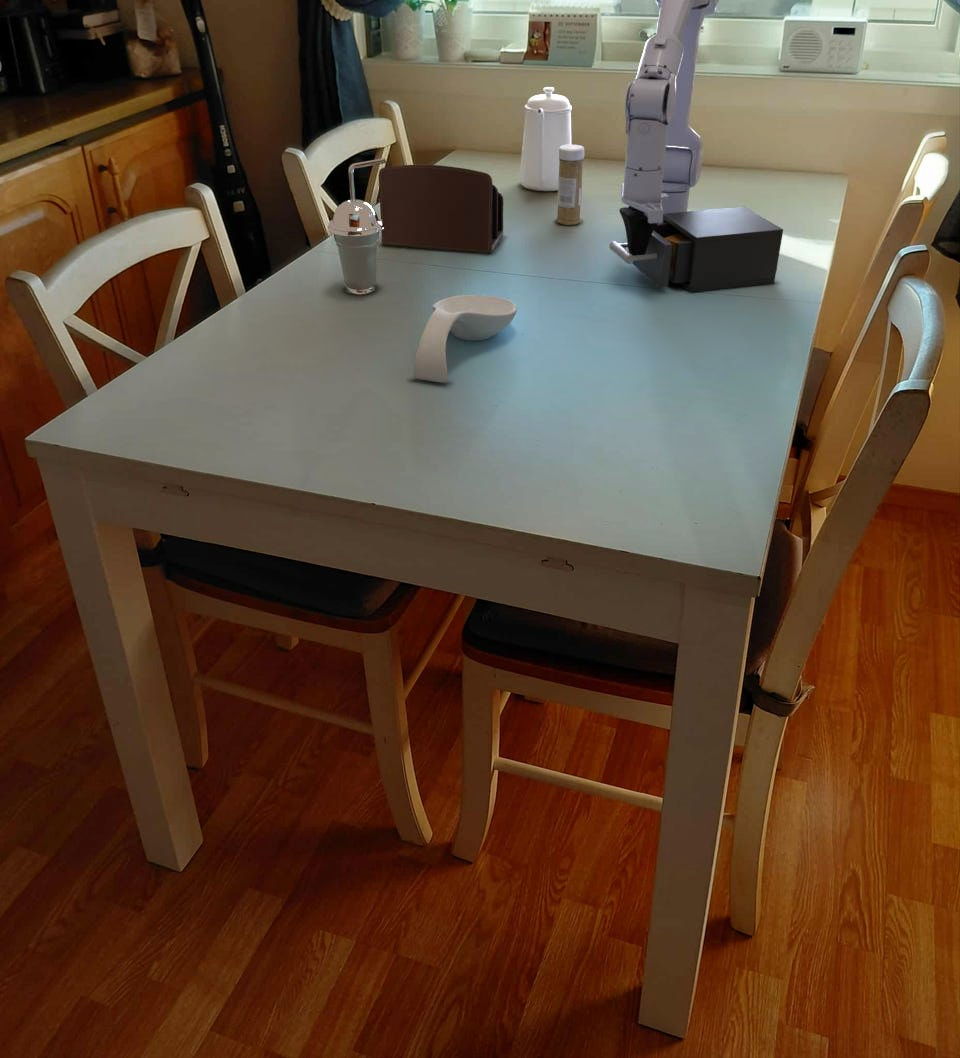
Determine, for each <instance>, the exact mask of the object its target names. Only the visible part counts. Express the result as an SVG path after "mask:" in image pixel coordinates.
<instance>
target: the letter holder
mask: <svg viewBox="0 0 960 1058" xmlns="http://www.w3.org/2000/svg"><path fill="white" fill-rule="evenodd" d="M378 188H379V189H378V190H379V191H378V192H379V211H380V219H381V220H382V221H383V225H384V228H383V230H382V231H380V232H381V233H380V234H381V245H382V246H383V247H398V248H399V247H401V248H411V249H413V248H414V249H426V250H437V251H447V252H459V253H460V252H461V253H473V254H485V255H492V253H493V251H494V250H495V249H496V248H497V246H498V244H499V242H500V241H501V239H502V238H503V236H504V196H503V194H502V193H500V192H499V191H498V188H497V187H496V186H495V185H494V184H493V178H492V176H491V175H490V173H487V172H484V171H479V170H476V169H469V168H465V167H456V166H450V165H449V166H448V165H441V164H439V165H438V164H403V165H401V164H400V165H391V166H385V167H382V168H380V169H379V171H378Z"/></svg>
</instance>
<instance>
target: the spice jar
mask: <svg viewBox="0 0 960 1058" xmlns="http://www.w3.org/2000/svg"><path fill="white" fill-rule="evenodd" d="M584 159H585V147H584V146H583V145H580V144H572V145H563V146H561V147H560V148H559V162H560V163H559V178H558V190H557V216H556V222H557V223H558V224H560V225H563V226H574V225H578V224H580V223H581V221H582V218H581V210H582V197H583V196H582V195H583V194H582V193H583V162H584Z"/></svg>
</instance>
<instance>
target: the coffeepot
mask: <svg viewBox="0 0 960 1058" xmlns="http://www.w3.org/2000/svg"><path fill="white" fill-rule="evenodd" d="M543 92H544V93H542V94H536V95H533V96H531V97H530V98H529V99H528V101H527V103H526V104H525V105H524V112H525V113H524V114H525V115H524V125H523V135H522V148H521V158H520V170H519V183H520V185H521V186H522V187H524V188H525V189H528V190H531V191H536V192H555V191H556V192H558V178H559V163H560V162H559V148H560V147H561V146H563V145H573V143H572V116H571V115H572V114H571V113H572V110H573V109H572V108H573V106H572V104H570V101H569V99H568V98H567V97H566V96H565V95H561V94H554V93H553V92H555V87H553V86H545V87H543Z"/></svg>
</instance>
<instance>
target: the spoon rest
mask: <svg viewBox="0 0 960 1058" xmlns="http://www.w3.org/2000/svg"><path fill="white" fill-rule="evenodd" d="M432 310H433V312H432V314H431V315H430V317H429V319H428V320H427V323H426V325H425V328H424V329H423V332H422V335H421V337H420V340H419V343H418V346H417V350H416V353H415V357H414V364H413V370H412V373H413V374H412V375H413V378H415V379H417V380H421V381H429V382H434V383H435V382H436V383H447V382H448V380H449V377H448V368H447V367H448V366H447V353H446V350H447V340H448V336H449V334H450V333H451V334H452V335H453V336H454V337H456V338H458V339H460V340H464V341H472V342H473V341H474V342H476V341H484V340H487V339H490V338H492V337H494V336H495V335H496V334H498V333H500V332H502V331H504V329H506V328H507V327H508V326H509V325H510V323H511V322H512V321H513V320H514V318H515V316H516V314H517V312H518V307H517V305H516V304H515V303H514V302H513V301H511V300H509V299H507V298H502V297H498V296H492V295H483V294H464V295H462V294H461V295H454V296H451V297H446V298H443V299H440V300H438V301H436V302H435V303H434V304H433V305H432Z"/></svg>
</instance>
